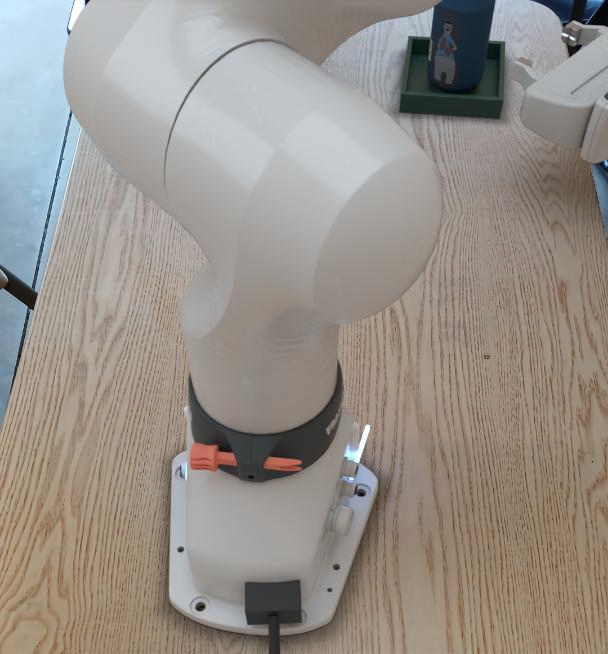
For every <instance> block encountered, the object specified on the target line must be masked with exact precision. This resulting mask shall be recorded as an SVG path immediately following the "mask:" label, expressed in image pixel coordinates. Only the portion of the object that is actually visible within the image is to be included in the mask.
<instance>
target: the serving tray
mask: <svg viewBox="0 0 608 654" xmlns="http://www.w3.org/2000/svg"><path fill="white" fill-rule="evenodd" d="M430 37H431V36H419V35H418V36H417V35H408V37H407V45H406V52H405V59H404V67H403V74H402V80H401V81H402V82H401V89H400V97H399V98H400V99H399V108H398V109H399V110H398V113H402V114H418V115H430V116H431V115H432V116H433V115H434V116H447V117H465V118H478V119H479V118H480V119H492V120H493V119H494V120H500V119H501V116H502V112H503V111H502V110H503V105H504V98H505V69H506V67H505V65H506V41H505V40H504V41H503V40H489V43H488V49H487V55H486V61H485V67H484V73H483V77H482V79H481V81H480V82H479V83H478V85H477V86H476V87H475V88H474V89H473V90H472V91H471V92H469V93H468V94H465V95H456V94H442V93H439V92H438V91H436V90H435V89H434V88H433V86H432V84H431V82H430V80H429V78H428V75H427V64H428V55H429V46H430Z"/></svg>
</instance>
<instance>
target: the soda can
mask: <svg viewBox="0 0 608 654" xmlns="http://www.w3.org/2000/svg"><path fill="white" fill-rule="evenodd" d="M496 1H497V0H442V1H441V2H440V3H438V4H437V5H436V6H434V7H433V10H432V11H433V13H432V21H431V28H430V36H429V37H430V46H429V55H428V64H427V75H428V78H429V80H430V82H431V84H432V86H433V88H434V89H435V90H436V91H438V92H439V93H442V94H456V95H465V94H468V93H469V92H471V91H472V90H473V89H474V88H475V87H476V86H477V85H478V83H479V82H480V81H481V79H482V77H483V73H484V67H485V61H486V55H487V49H488V43H489V41H490V37H491V32H492V25H493V19H494V13H495V7H496Z"/></svg>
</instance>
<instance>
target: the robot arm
mask: <svg viewBox="0 0 608 654" xmlns="http://www.w3.org/2000/svg"><path fill="white" fill-rule="evenodd" d="M441 1H442V0H89V1H88V2H87V3H86V4H85V6H84V7H83V8H82V10H81V11H80V13H79V14H78V16H77V18H76V19H75V21H74V23H73V25H72V28H71V31H70V33H69V35H68V37H67V42H66V46H65V50H64V55H63V62H62V63H63V64H62V79H63V88H64V94H65V98H66V101H67V103H68V106H69V109H70V111H71V113H72V115H73V117H74V119H75V120H76V121H77V123H78V124H79V126H80V128H81V129H82V130H83V131H84V133H85V134H86V135H87V137H88V139H89V140H90V141H91V143H92V145H94V147H95V148H96V150H97V151H98V152H99V153H100V155H101V156H102V157H103V158H104V160H105V161H106V163H108V165H109V166H110V167H111V168H112V170H113V171H114V172H115V173H116V174H118V176H119V177H121V178H122V179H123V180H124V181H126V182H127V183H128V184H130V185H131V186H132V187H134V188H135V189H136V190H137V191H138V192H140V193H141V194H142V195H144V196H145V197H146V198H147V199H148V200H150V201H151V202H153V203H154V204H155V205H156V206H158V207H159V208H160V209H161V210H163V212H165V213H166V214H168V215H169V216H170V217H172V219H174V220H175V221H176V222H177V223H178V224H179V225H180V226H181V227H182V228H183V229H184V230H185V231H186V232H187V233H188V234H189V235H190V236H191V237H192V238H193V240H194V241H195V242H196V244H197V245H198V246H199V248H200V249H201V251H202V253H203V254H204V256H205V258H206V259H207V261H206V262H205V263H204V264H203V265H202V266H201V267H200V268H199V269H198V270H197V272H196V273H195V275H193V277H192V278H191V280H190V282H189V283H188V285H187V286H186V288H185V289H184V291H183V294H182V296H181V298H180V302H179V306H178V307H179V308H178V322H179V327H180V331H181V335H182V341H183V346H184V350H185V356H186V360H187V365H188V369H189V372H188V377H187V384H188V386H187V405H186V406H184V408H183V413H184V417H185V421H186V450H184V451H182V452H180V453H179V454H177V455H176V456H175V457H174V458H173V460H172V462H171V481H170V483H171V484H170V485H171V486H170V487H171V488H170V521H169V522H170V523H169V524H170V525H169V527H170V528H169V563H168V564H169V565H168V597H169V598H168V599H169V603H170V604H171V606H172V607H173V608H174V609H175V610H177V612H179V613H180V614H182V615H183V616H185V617H186V618H188V619H189V620H192V621H194V622H195V623H198V624H201V625H204V626H207V627H209V628H213V629H216V630H221V631H224V632H225V631H226V632H231V633H238V634H243V635H254V636H264V637H265V636H267V637H268V654H281V636H291V635H293V636H294V635H297V634H298V635H299V634H303V633H308V632H311V631H314V630H318V629H319V628H322V627H324V626H326V625H328V624H329V623H330V622H331V621H332V620H333V618H334V616H335V613H336V610H337V607H338V605H339V602H340V599H341V597H342V594H343V591H344V589H345V585H346V584H347V583H346V582H347V581H348V577H349V574H350V571H351V568H352V565H353V563H354V560H355V557H356V554H357V551H358V549H359V546H360V543H361V540H362V537H363V534H364V531H365V529H366V526H367V523H368V521H369V518H370V515H371V511H372V510H373V506H374V503H375V501H376V498H377V495H378V492H379V479H378V478H377V476H376V474H374V472H373V471H371V470H370V469H369V468H368V467H366V466H365V465H364V464H362V463H361V462H360V459H361V456H362V454H363V451H364V448H365V445H366V442H367V438H368V435H369V432H370V427H371V426H370V425H369V424H366V425H365V428H364V431H363V434H362V437H360V435H361V434H360V433H361V432H360V431H361V430H360V428H361V427H360V424H359V422H358V421H357V420H356V418H355V417H354V416H353V415H352V414H351V413H350V412H349V411H348V409H347V408H346V407H345V406H344V398H345V383H344V382H345V381H344V378H343V371H342V366H341V363H340V359H339V358H338V357H339V340H340V328H341V325H348V324H353V323H356V322H360V321H363V320H366V319H368V318H371V317H372V316H374V315H378V314H379V313H381V312H383V311H384V310H386V309H387V308H389V307H390V306H392V305H393V304H395V303H396V302H397V301H398V300H400V299H401V298H402V297H403V296H404V295H405V294H406V293H407V292H408V291H409V290H410V289H411V288H412V287H413V286H414V285H415V283H416V282H417V281H418V280H419V278H420V277H421V276H422V274H423V272H424V271H425V269H426V268H427V267H428V264H429V262H430V260H431V258H432V256H433V254H434V251H435V249H436V246H437V244H438V241H439V237H440V233H441V229H442V223H443V216H444V200H445V199H444V198H445V196H444V185H443V183H444V182H443V178H442V173H441V171H440V169H439V166H438V165H437V163H436V162H435V160H434V159H433V158H432V157H431V156H430V155H429V154H428V152H426V150H425V149H423V147H421V145H420V144H419V143H418V142H417V141H416V140H415V138H414V137H412V135H411V134H410V133H409V132H408V131H407V130H406V129H405V128H404V127H403V126H402V125H401V124H400V122H398V120H396V119H395V117H393V116H392V115H391V114H390V113H389V112H388V111H387V109H385V108H384V106H383V105H381V104H380V103H378V101H377V100H375V99H374V98H371V96H368V95H367V94H366V93H364V92H362V91H360V90H359V89H357V88H356V87H355V86H352V85H351V84H349V83H347V82H346V81H344V80H342V79H341V78H339V77H337V76H336V75H334V74H332V72H329V71H328V70H326V69H325V68H323V67H322V65H323V64H324V63H325V61H326V60H327V59H328V58H329V57H330V56H331V55H332V54H333V53H334V52H335V51H336V50H337V49H338V48H339V47H340V46H341V45H343V44H344V43H345V42H347V41H348V40H349V39H350V38H352V37H354V36H355V35H357V34H358V33H360V32H361V31H363V30H365V29H367V28H369V27H372V26H373V25H375V24H378V23H382V22H385V21H389V20H395V19H403V18H409V17H413V16H417V15H420V14H422V13H425V12H427V11H429V10H431V9H434V6H436V5H437V4H438V3H440V2H441ZM560 39H561V42H563V43H564V44H567V45H569V46H570V47H575V46H577V45H580V46H583V47H582V48H580V49H579V50H578V51H577V52H575V53H573V54H572V55H570V57H569V58H567V59H565V60H564V61H563V62H561V63H560V64H558V65H557V66H555V67H554V68H553V69H551V70H550V71H549V72H547V73H546V74H545V73H543V72H539V71H538V72H537V73H535V71H534V70H533V69H532V67H533V63H534V62H533V61H532V60H529V59H526V58H525V57H524V56H520V57H519V58H517V59H515V60H514V61H513V62H511V63H510V66H509V70H508V77H509V78H510V79H511V80H512V81H514V82H516V83H518V84H520V86H521V88H522V90H523V91H524V94H523V98H522V101H521V106H520V110H519V118H520V121H521V123H522V125H523V126H524V128H526V129H527V130H528V131H530V132H532V133H534V134H535V135H537V136H539V137H541V139H545V140H546V141H549V142H550V143H552V144H554V145H556V146H559V147H561V148H564V149H567V150H579V149H580V154H579V157H580V158H581V159H582V160H583V161H585V162H587V163H589V164H594V165H595V164H599V163H602V162H604V161H607V160H608V26H605V25H595V24H594V25H593V24H583V23H581V22H579V21H576V20H571V22H569V23H567V24H566V25H565V26H563V28H562V33H561V36H560ZM360 438H361V440H360ZM359 494H362V495H364V496H359ZM201 606H202V607H204V609H203V610H202V611H201V610H197V609H198V608H199V607H201Z"/></svg>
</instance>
